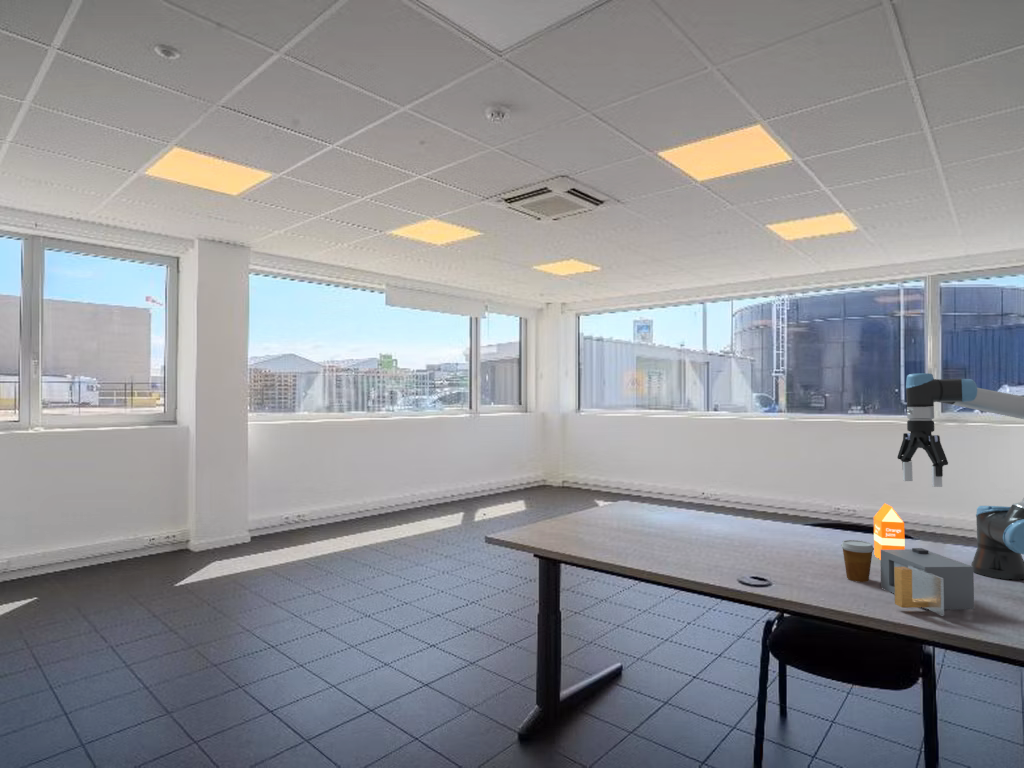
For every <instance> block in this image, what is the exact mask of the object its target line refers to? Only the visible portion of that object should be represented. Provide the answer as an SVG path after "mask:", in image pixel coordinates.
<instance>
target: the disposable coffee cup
mask: <svg viewBox="0 0 1024 768" xmlns="http://www.w3.org/2000/svg"><path fill="white" fill-rule="evenodd" d="M840 547H841V549H842V552H843V553H842V554H843V559H844V567H845V573H846V579H847V578H848V579H847V580H849V581H851V582H852V581H853V582H856V581H857V583H867V582H869V580H870V574H871V565H872V557H873V553H874V544H872V543H871V542H869V541H868V542H867V541H863V540H859V539H858V540H855V539H845V540H842V543H841V545H840Z"/></svg>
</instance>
